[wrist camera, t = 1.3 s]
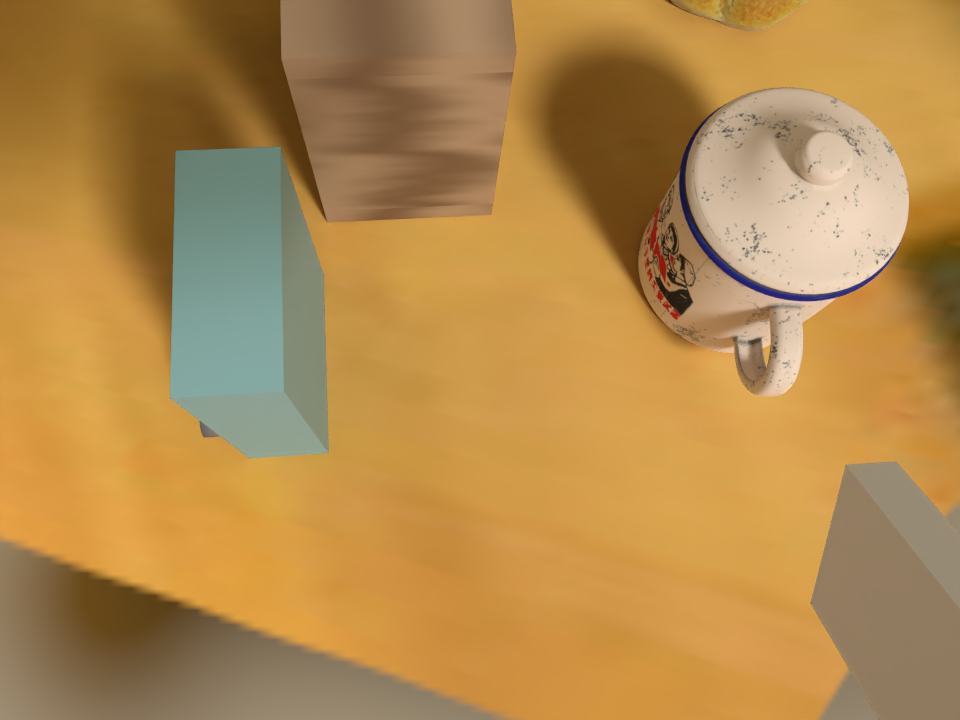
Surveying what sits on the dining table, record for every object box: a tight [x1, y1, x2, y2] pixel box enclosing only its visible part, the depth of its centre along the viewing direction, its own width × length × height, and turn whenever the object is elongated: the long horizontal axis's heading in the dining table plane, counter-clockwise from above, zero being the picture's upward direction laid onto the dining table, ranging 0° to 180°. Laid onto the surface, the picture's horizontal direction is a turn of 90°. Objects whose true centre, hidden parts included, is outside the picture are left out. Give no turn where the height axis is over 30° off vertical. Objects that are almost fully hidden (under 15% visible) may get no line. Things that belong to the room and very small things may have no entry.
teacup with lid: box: [638, 87, 909, 396], centre depth 36 cm, size 12×9×12 cm
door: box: [170, 147, 329, 458], centre depth 33 cm, size 4×9×12 cm, turn 4°
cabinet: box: [280, 0, 516, 222], centre depth 37 cm, size 14×12×13 cm
